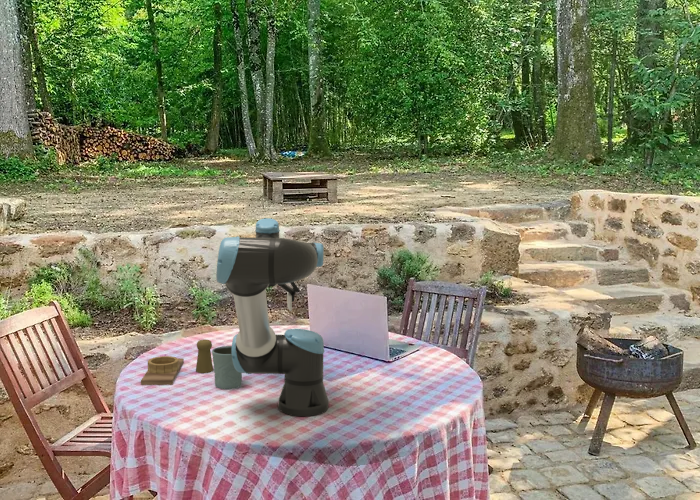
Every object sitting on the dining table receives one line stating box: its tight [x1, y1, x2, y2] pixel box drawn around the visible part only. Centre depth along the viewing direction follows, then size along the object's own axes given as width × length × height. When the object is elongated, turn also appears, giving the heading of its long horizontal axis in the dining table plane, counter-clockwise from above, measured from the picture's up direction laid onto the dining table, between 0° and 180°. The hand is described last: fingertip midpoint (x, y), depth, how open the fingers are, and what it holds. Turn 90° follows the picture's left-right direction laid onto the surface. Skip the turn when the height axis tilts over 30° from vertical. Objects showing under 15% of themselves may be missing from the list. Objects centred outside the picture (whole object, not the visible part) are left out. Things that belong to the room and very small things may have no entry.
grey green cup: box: [211, 345, 243, 390], centre depth 213 cm, size 10×10×12 cm
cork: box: [195, 339, 214, 374], centre depth 228 cm, size 6×6×11 cm
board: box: [140, 355, 185, 386], centre depth 224 cm, size 24×10×4 cm, turn 6°
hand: (271, 313), depth 226 cm, fingers open, 13 cm apart
